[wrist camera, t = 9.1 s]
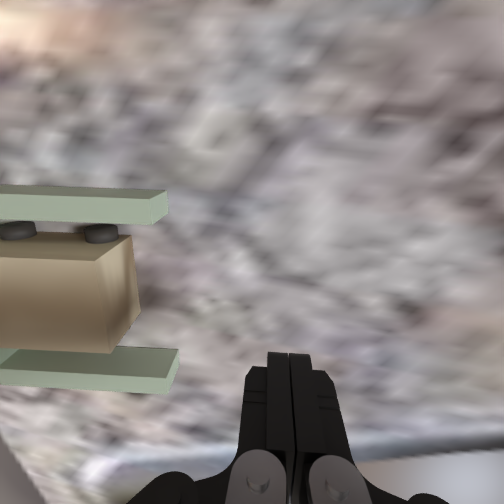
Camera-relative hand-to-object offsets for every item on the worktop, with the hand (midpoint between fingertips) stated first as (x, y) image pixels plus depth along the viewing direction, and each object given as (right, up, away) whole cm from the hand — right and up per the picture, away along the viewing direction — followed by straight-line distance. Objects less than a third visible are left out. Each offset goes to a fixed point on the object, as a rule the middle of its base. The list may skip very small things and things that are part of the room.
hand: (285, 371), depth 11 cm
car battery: (-12, +3, +7) cm, 14 cm away
